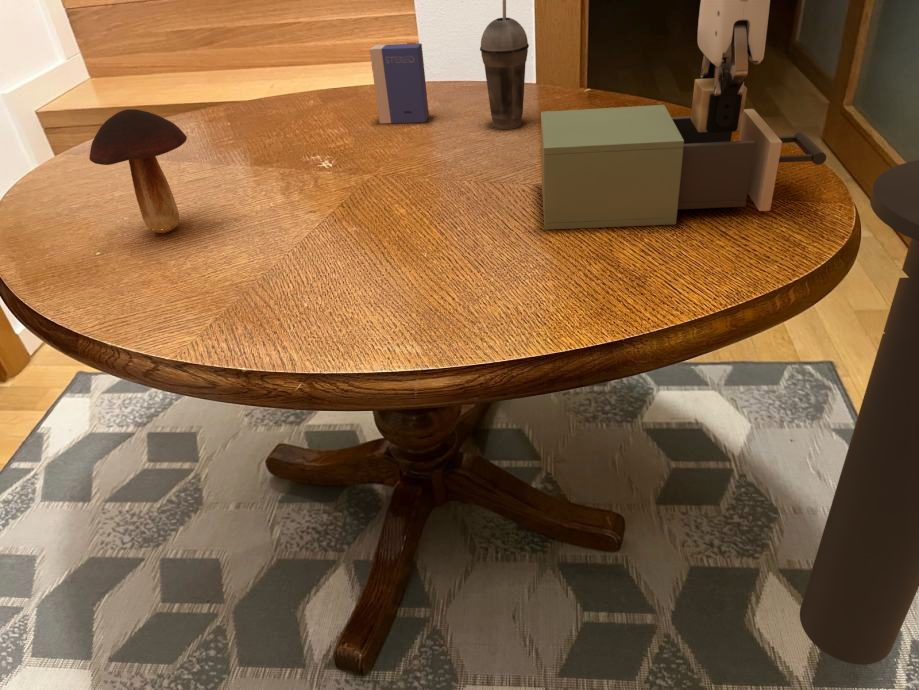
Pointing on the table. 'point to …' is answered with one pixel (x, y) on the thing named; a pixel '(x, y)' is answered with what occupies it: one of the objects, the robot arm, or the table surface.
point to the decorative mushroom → (142, 160)
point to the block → (702, 103)
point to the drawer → (735, 163)
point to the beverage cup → (505, 69)
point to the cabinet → (610, 167)
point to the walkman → (400, 83)
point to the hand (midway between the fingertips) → (716, 121)
